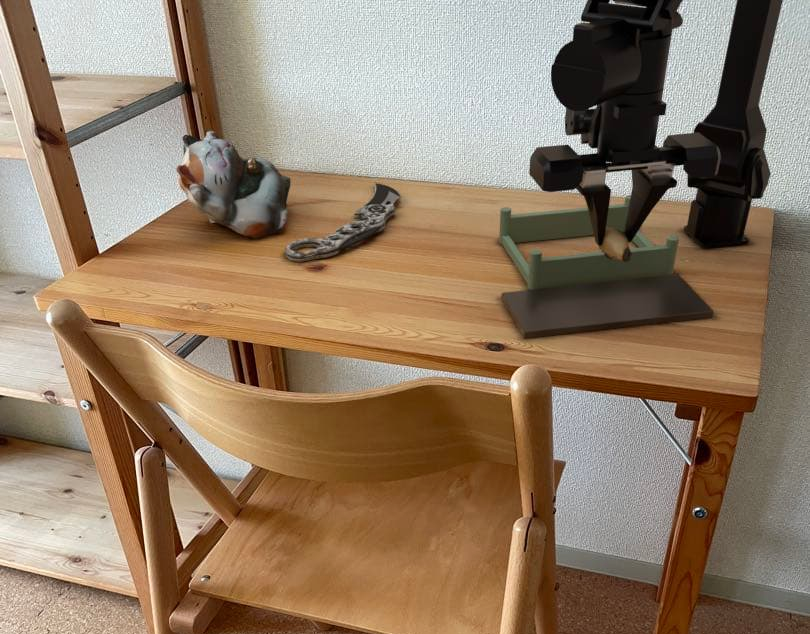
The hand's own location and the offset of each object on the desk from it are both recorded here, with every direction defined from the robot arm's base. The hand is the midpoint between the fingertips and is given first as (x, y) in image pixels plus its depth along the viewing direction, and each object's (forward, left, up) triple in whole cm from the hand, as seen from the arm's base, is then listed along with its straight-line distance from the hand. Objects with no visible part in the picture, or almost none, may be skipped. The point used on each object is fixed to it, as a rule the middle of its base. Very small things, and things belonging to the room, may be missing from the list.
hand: (613, 242), depth 94 cm
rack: (-2, -14, -8) cm, 16 cm away
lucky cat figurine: (+41, -36, -8) cm, 55 cm away
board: (0, 0, -8) cm, 8 cm away
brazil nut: (0, 0, -1) cm, 1 cm away
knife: (+25, -32, -8) cm, 41 cm away
